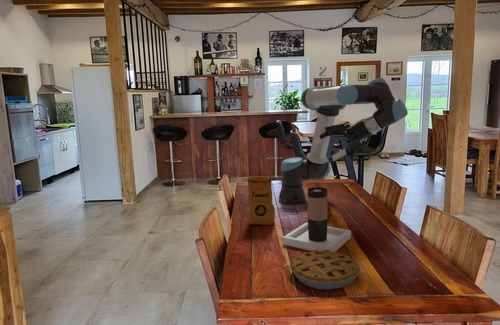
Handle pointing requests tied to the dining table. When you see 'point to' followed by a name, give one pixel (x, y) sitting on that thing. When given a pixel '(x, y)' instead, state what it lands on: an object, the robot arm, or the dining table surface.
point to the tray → (332, 243)
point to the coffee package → (260, 201)
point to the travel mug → (317, 214)
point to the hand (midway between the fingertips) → (324, 150)
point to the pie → (324, 269)
